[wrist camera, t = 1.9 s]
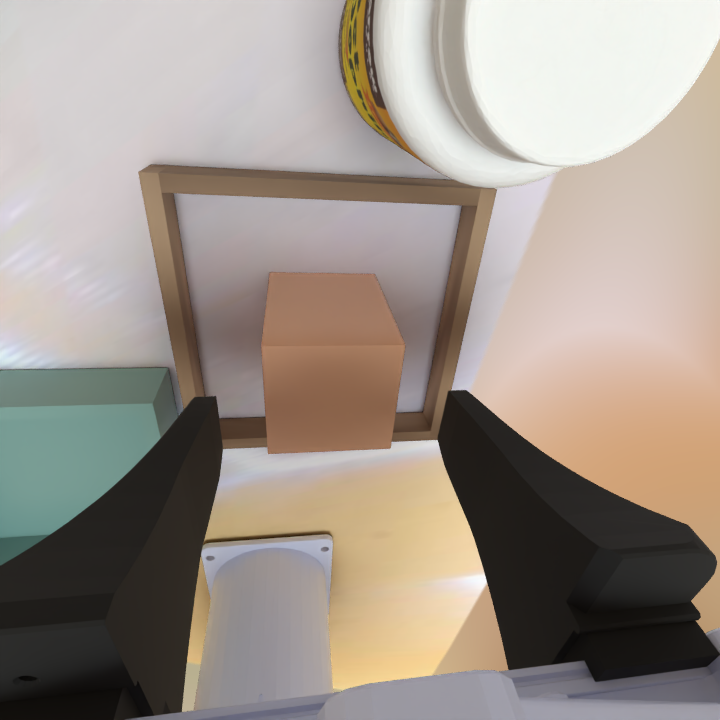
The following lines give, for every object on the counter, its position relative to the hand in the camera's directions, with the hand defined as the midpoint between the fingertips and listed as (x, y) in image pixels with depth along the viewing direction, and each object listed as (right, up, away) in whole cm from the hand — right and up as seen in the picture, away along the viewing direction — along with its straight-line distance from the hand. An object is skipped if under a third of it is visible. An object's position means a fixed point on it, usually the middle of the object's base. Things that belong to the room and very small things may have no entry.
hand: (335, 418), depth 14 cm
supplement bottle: (+3, +12, +1) cm, 13 cm away
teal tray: (-14, -3, +8) cm, 16 cm away
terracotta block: (-1, +4, +6) cm, 7 cm away
